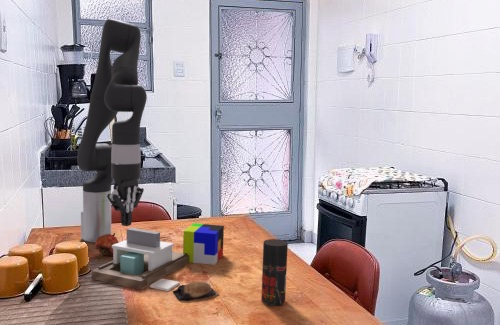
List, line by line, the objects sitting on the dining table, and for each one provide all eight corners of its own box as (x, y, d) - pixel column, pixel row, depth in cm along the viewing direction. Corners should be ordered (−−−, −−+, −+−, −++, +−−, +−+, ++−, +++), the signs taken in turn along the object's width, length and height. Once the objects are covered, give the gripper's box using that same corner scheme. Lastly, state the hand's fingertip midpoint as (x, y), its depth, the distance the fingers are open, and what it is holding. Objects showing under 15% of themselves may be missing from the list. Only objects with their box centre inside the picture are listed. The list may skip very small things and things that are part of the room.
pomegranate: (111, 267, 145) (130, 242, 151) (98, 252, 141) (117, 226, 147) (96, 265, 149) (115, 240, 155) (82, 250, 145) (102, 225, 151)
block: (120, 277, 132) (120, 256, 131) (130, 272, 136) (130, 251, 135) (133, 279, 130) (133, 258, 129) (143, 274, 134) (143, 253, 133)
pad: (150, 287, 125) (150, 285, 125) (161, 280, 130) (162, 278, 130) (168, 291, 123) (168, 288, 123) (179, 284, 128) (179, 282, 128)
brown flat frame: (91, 278, 129) (91, 268, 129) (146, 253, 152) (146, 245, 152) (140, 289, 123) (141, 279, 123) (190, 261, 146) (190, 252, 146)
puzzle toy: (214, 266, 144) (215, 234, 143) (182, 262, 146) (183, 231, 145) (222, 256, 154) (223, 225, 153) (193, 253, 156) (193, 223, 155)
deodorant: (260, 296, 121) (262, 239, 120) (283, 296, 122) (285, 239, 120) (262, 306, 116) (264, 246, 114) (286, 306, 116) (289, 246, 114)
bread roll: (207, 287, 128) (208, 273, 128) (221, 298, 121) (221, 284, 120) (169, 293, 123) (170, 279, 123) (181, 305, 116) (181, 290, 115)
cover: (111, 263, 135) (111, 231, 134) (133, 253, 144) (133, 223, 143) (153, 271, 130) (153, 238, 129) (173, 260, 139) (173, 230, 138)
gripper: (129, 158, 134) (130, 218, 136) (97, 162, 122) (98, 229, 124) (152, 159, 131) (152, 221, 133) (121, 164, 119) (122, 232, 121)
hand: (126, 225), depth 128 cm, fingers closed
